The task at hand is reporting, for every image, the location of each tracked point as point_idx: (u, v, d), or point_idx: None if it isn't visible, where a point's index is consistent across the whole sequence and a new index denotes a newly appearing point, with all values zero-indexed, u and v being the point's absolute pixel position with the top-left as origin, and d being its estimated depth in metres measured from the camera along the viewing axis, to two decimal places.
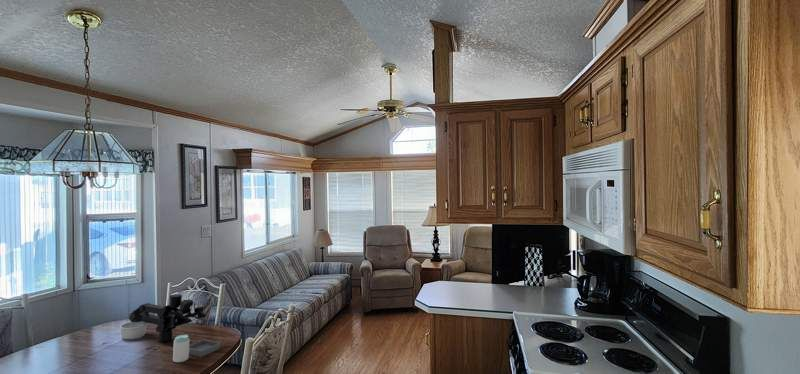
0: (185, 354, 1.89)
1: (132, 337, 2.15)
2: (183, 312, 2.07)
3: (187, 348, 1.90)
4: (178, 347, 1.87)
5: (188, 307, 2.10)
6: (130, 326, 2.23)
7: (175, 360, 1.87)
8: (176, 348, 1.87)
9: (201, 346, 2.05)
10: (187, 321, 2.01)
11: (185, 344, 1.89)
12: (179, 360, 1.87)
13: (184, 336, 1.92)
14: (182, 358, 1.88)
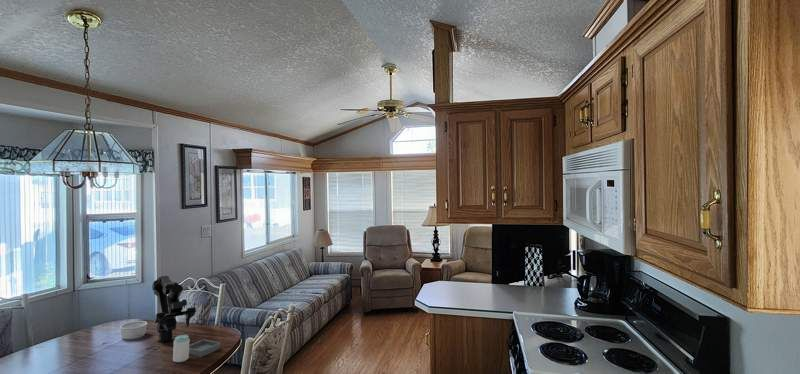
0: (185, 354, 1.89)
1: (132, 337, 2.15)
2: (172, 311, 1.99)
3: (187, 348, 1.90)
4: (178, 347, 1.87)
5: (179, 308, 2.01)
6: (130, 326, 2.23)
7: (175, 360, 1.87)
8: (176, 348, 1.87)
9: (201, 346, 2.05)
10: (165, 328, 1.94)
11: (185, 344, 1.89)
12: (179, 360, 1.87)
13: (184, 336, 1.92)
14: (182, 358, 1.88)
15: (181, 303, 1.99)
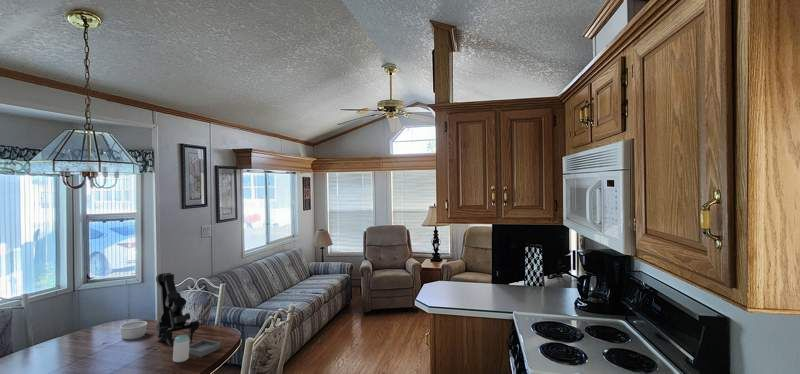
0: (185, 354, 1.89)
1: (132, 337, 2.15)
2: (175, 325, 1.93)
3: (187, 348, 1.90)
4: (178, 347, 1.87)
5: (182, 322, 1.95)
6: (130, 326, 2.23)
7: (175, 360, 1.87)
8: (176, 348, 1.87)
9: (201, 346, 2.05)
10: (168, 343, 1.89)
11: (185, 344, 1.89)
12: (179, 360, 1.87)
13: (184, 336, 1.92)
14: (182, 358, 1.88)
15: (184, 317, 1.93)
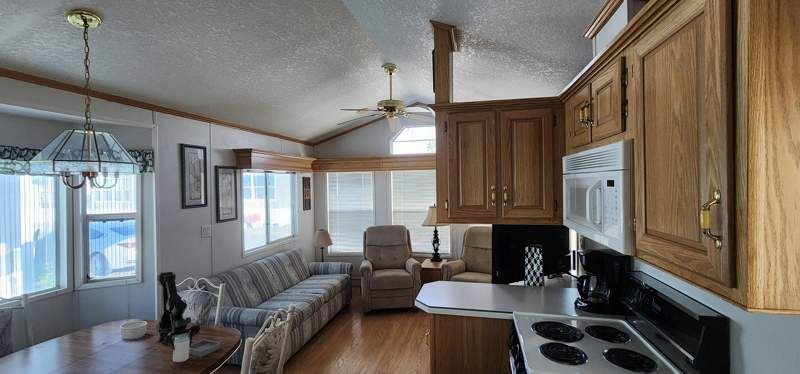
0: (185, 354, 1.89)
1: (132, 337, 2.15)
2: (175, 329, 1.92)
3: (187, 348, 1.90)
4: (178, 347, 1.87)
5: (183, 326, 1.93)
6: (130, 326, 2.23)
7: (175, 360, 1.87)
8: (176, 348, 1.87)
9: (201, 346, 2.05)
10: (171, 346, 1.88)
11: (185, 344, 1.89)
12: (179, 360, 1.87)
13: (184, 336, 1.92)
14: (182, 358, 1.88)
15: (185, 321, 1.92)
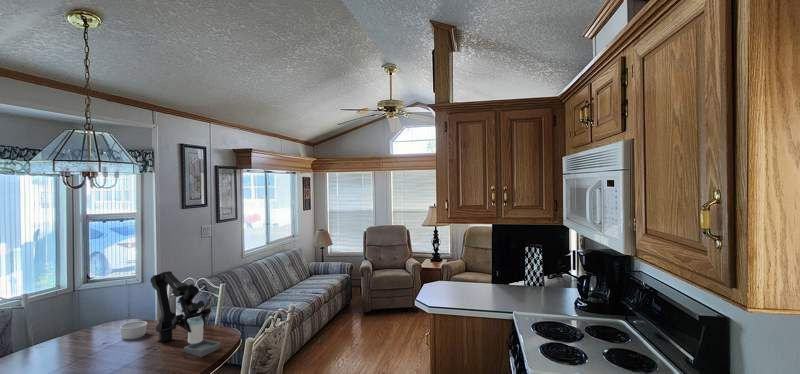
0: (201, 335, 1.97)
1: (132, 337, 2.15)
2: (189, 313, 1.98)
3: (202, 330, 1.98)
4: (194, 329, 1.95)
5: (196, 309, 2.00)
6: (130, 326, 2.23)
7: (191, 342, 1.94)
8: (193, 330, 1.95)
9: (201, 346, 2.05)
10: (187, 329, 1.94)
11: (201, 326, 1.97)
12: (196, 341, 1.95)
13: (198, 319, 1.99)
14: (198, 339, 1.96)
15: (199, 304, 1.99)
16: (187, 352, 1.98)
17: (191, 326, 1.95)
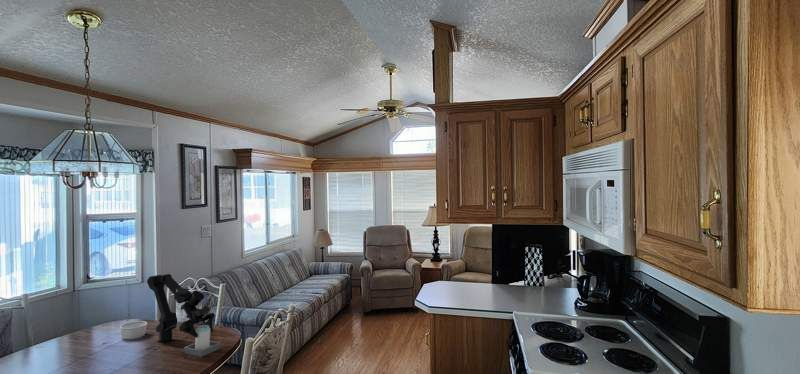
0: (208, 342, 2.03)
1: (132, 337, 2.15)
2: (195, 318, 2.03)
3: (209, 336, 2.04)
4: (202, 336, 2.00)
5: (202, 314, 2.05)
6: (130, 326, 2.23)
7: (200, 348, 1.99)
8: (201, 337, 2.00)
9: None
10: (193, 334, 1.98)
11: (209, 333, 2.03)
12: (204, 348, 2.00)
13: (204, 326, 2.04)
14: (206, 345, 2.01)
15: (206, 309, 2.04)
16: (187, 352, 1.98)
17: (199, 333, 1.99)
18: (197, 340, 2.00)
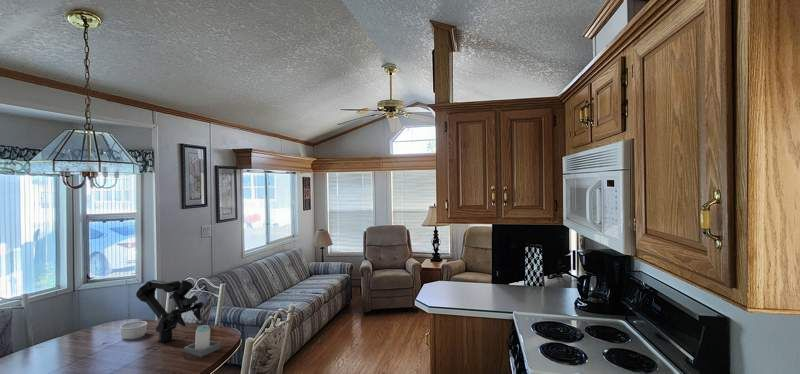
0: (208, 342, 2.03)
1: (132, 337, 2.15)
2: (183, 307, 2.06)
3: (209, 336, 2.04)
4: (202, 336, 2.00)
5: (190, 303, 2.09)
6: (130, 326, 2.23)
7: (200, 348, 1.99)
8: (201, 337, 2.00)
9: None
10: (181, 323, 2.02)
11: (209, 333, 2.03)
12: (204, 348, 2.00)
13: (204, 326, 2.04)
14: (206, 345, 2.01)
15: (194, 299, 2.08)
16: (187, 352, 1.98)
17: (199, 333, 1.99)
18: (197, 340, 2.00)
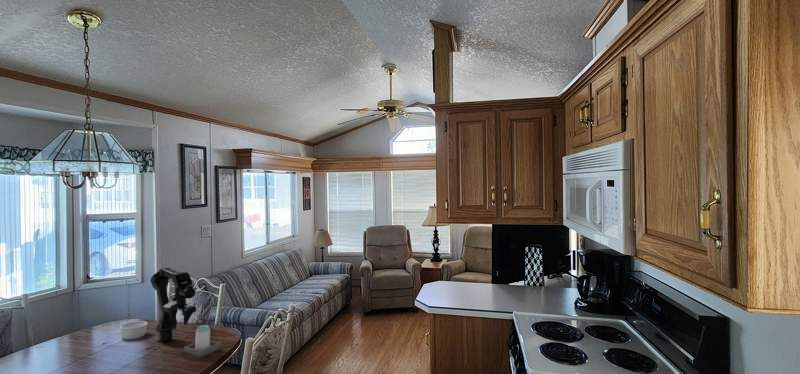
0: (208, 342, 2.03)
1: (132, 337, 2.15)
2: None
3: (209, 336, 2.04)
4: (202, 336, 2.00)
5: None
6: (130, 326, 2.23)
7: (200, 348, 1.99)
8: (201, 337, 2.00)
9: None
10: None
11: (209, 333, 2.03)
12: (204, 348, 2.00)
13: (204, 326, 2.04)
14: (206, 345, 2.01)
15: (168, 309, 1.99)
16: (187, 352, 1.98)
17: (199, 333, 1.99)
18: (197, 340, 2.00)
